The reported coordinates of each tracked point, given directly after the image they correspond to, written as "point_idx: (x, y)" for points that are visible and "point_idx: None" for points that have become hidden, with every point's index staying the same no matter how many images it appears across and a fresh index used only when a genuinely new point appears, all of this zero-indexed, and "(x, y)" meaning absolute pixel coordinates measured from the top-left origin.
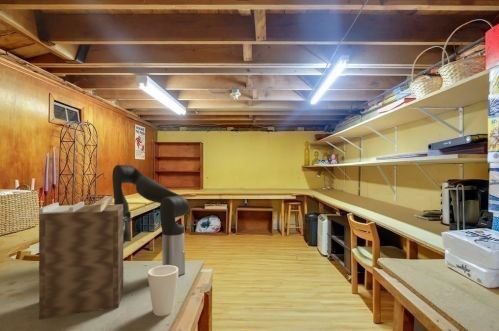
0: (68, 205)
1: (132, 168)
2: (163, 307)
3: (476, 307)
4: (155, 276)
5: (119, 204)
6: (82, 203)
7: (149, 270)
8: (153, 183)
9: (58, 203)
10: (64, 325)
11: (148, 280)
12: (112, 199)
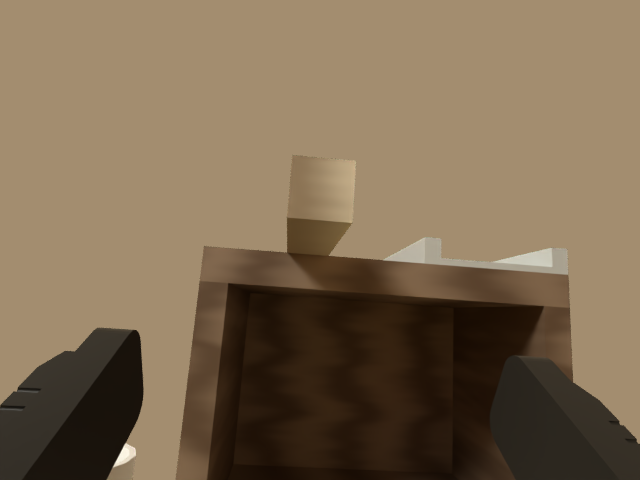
0: (503, 263)
1: None
2: None
3: None
4: (126, 444)
5: (226, 248)
6: (411, 250)
7: (123, 462)
8: None
9: (547, 253)
10: None
11: (132, 476)
12: (289, 194)
